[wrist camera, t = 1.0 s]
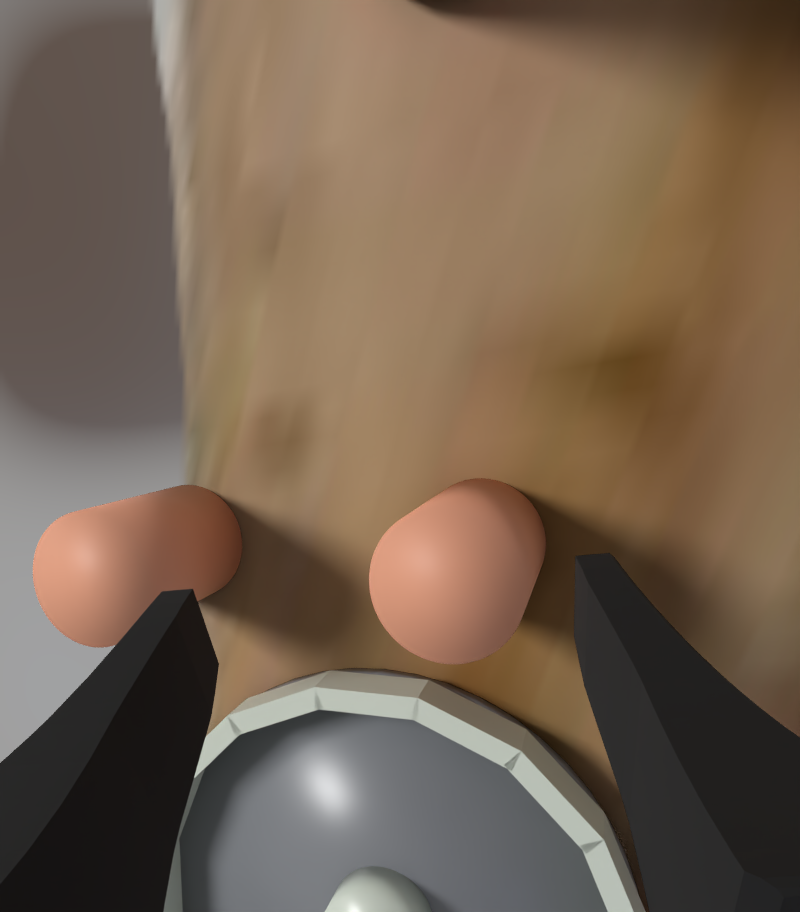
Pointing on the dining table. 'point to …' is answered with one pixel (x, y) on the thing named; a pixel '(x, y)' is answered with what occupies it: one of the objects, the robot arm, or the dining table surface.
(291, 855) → the groove tray
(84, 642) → the reddish brown rounded cylinder
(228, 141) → the dining table surface
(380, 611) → the salmon rounded capsule
